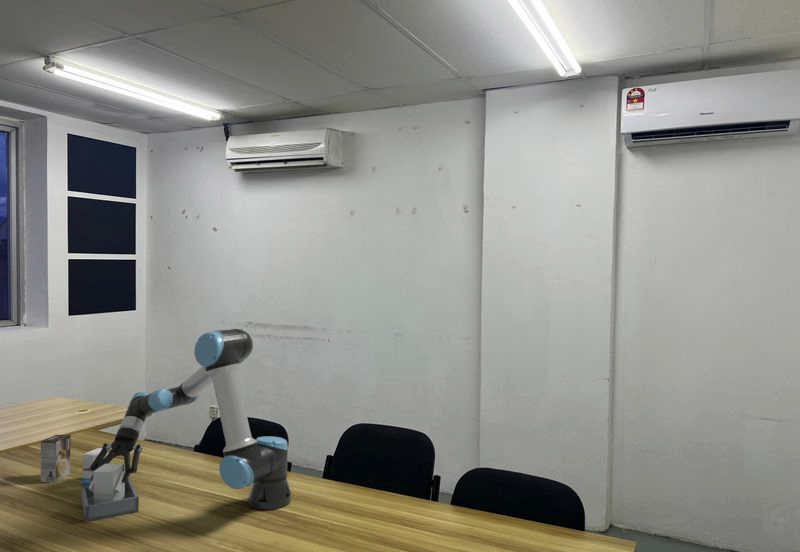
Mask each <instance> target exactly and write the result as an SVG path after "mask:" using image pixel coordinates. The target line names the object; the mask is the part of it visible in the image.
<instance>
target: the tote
mask: <svg viewBox="0 0 800 552" xmlns="http://www.w3.org/2000/svg"><path fill="white" fill-rule="evenodd" d="M124 484H125V499H121V500H115V501H110V502H104V503H99V504H94V492H91V491H90V490H89V487H90V485H85V486H84V485H83V486H81V488H80V503H81V508H82V512H83V518H84V522H85V523H89V522H93V521H97V520H98V521H99V520H103V519H109V518H113V517H118V516H119V517H120V516H124V515H128V514H133V513H138V512H139V509H140V508H139V506H140V505H139V503H140V502H139V501H140V498H139V495H138V493H137V491H136V487H135V485H134V484H133V482H132V479H131V478H128V480H127V482H126V483H124Z"/></svg>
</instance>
